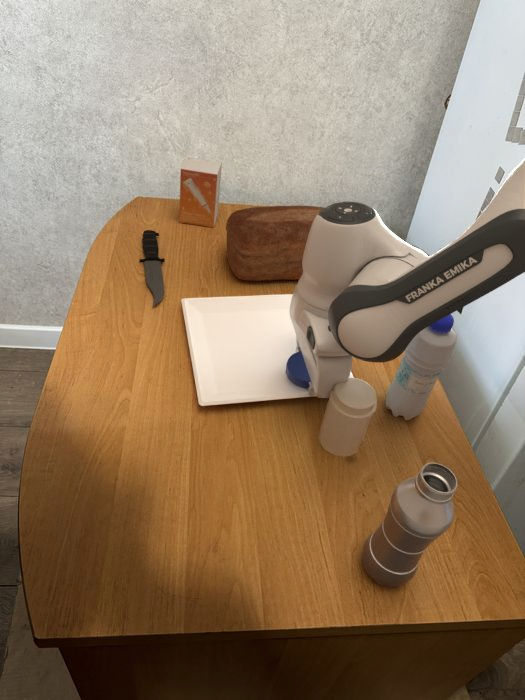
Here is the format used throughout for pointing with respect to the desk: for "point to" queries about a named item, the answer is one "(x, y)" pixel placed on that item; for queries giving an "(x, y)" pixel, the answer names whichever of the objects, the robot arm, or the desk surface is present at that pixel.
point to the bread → (269, 241)
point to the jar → (347, 417)
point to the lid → (297, 370)
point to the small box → (199, 191)
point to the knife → (153, 265)
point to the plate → (241, 348)
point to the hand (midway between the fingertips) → (306, 373)
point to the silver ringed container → (410, 525)
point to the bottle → (421, 368)
